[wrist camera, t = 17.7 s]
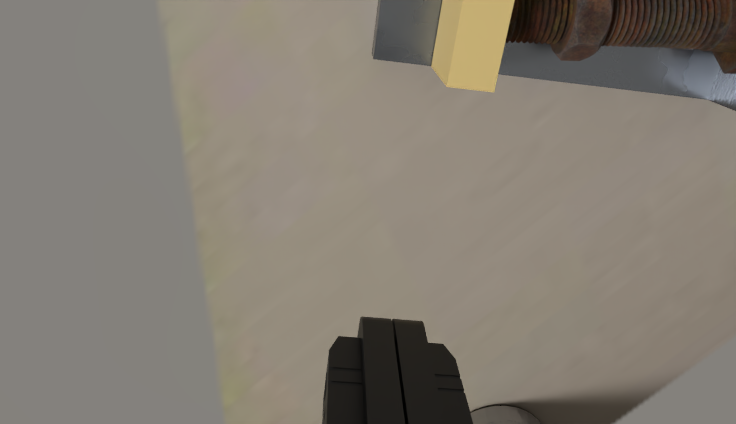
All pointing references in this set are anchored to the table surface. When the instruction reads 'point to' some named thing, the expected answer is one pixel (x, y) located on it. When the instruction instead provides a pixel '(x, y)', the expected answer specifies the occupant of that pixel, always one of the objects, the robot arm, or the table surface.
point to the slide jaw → (471, 42)
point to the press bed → (605, 68)
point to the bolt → (627, 26)
